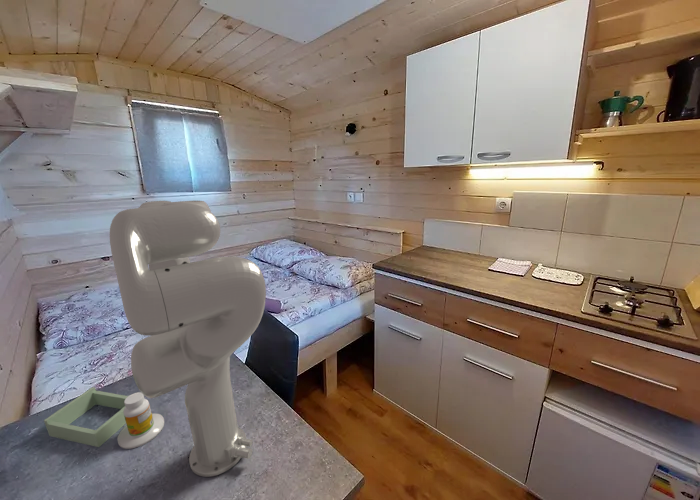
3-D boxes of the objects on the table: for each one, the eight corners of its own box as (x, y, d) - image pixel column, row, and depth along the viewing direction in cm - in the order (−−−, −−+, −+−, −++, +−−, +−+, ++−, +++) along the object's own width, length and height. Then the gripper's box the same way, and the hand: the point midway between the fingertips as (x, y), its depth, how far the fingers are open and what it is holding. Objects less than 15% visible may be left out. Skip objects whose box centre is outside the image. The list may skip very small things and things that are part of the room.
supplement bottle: (124, 433, 76) (115, 401, 74) (146, 417, 81) (139, 387, 78) (136, 441, 74) (127, 409, 71) (158, 425, 79) (151, 394, 76)
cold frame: (141, 409, 85) (137, 395, 83) (99, 447, 74) (93, 431, 72) (96, 401, 88) (92, 387, 87) (49, 436, 77) (43, 420, 76)
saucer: (173, 418, 81) (172, 416, 81) (141, 452, 72) (140, 449, 72) (142, 413, 84) (142, 410, 83) (107, 444, 74) (107, 442, 74)
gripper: (205, 247, 78) (215, 307, 83) (150, 245, 82) (162, 302, 86) (184, 255, 71) (196, 320, 76) (125, 253, 75) (139, 315, 79)
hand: (178, 311), depth 81 cm, fingers open, 9 cm apart
